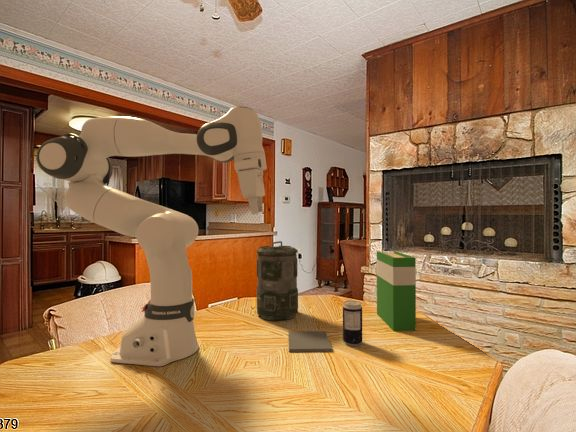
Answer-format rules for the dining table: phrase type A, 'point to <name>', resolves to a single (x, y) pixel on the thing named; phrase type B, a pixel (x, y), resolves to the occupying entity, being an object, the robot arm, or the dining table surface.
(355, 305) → the beverage can
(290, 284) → the canister
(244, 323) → the dining table surface
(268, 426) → the dining table surface
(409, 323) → the hardback book
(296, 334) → the mat
